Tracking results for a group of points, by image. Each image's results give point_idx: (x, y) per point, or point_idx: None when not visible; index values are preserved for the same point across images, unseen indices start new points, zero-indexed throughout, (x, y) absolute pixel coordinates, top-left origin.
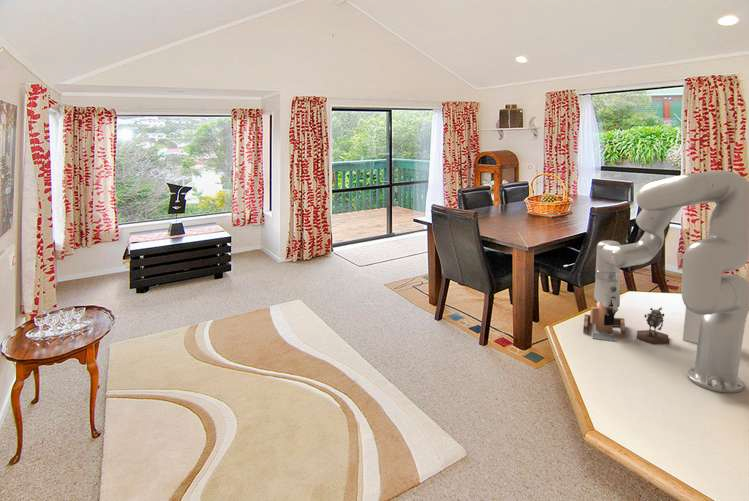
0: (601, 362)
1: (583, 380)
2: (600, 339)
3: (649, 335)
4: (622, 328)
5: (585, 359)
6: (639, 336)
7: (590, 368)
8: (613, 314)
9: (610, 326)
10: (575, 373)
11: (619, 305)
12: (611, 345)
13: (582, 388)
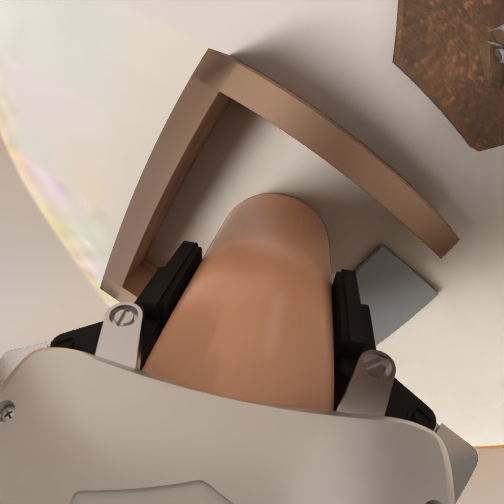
0: (488, 399)
1: (491, 437)
2: (383, 337)
3: (501, 71)
4: (414, 223)
5: (451, 421)
6: (483, 134)
7: (482, 422)
8: (393, 382)
9: (329, 263)
10: (469, 443)
11: (447, 453)
12: (451, 326)
13: (500, 441)
